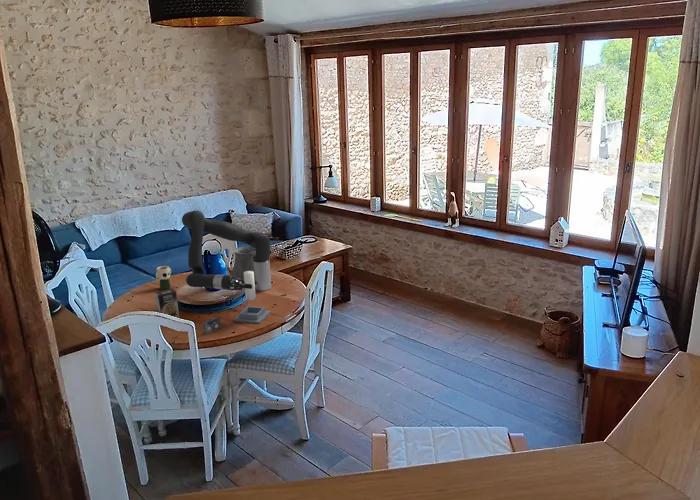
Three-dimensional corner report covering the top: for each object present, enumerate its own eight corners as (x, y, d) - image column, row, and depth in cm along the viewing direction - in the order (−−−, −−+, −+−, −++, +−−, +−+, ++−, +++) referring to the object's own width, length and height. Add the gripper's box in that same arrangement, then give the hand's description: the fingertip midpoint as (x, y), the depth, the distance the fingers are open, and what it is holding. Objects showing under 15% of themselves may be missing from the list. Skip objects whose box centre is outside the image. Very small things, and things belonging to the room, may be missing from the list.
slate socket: (246, 310, 289) (245, 304, 288) (270, 312, 285) (270, 306, 284) (234, 321, 276) (233, 314, 275) (259, 323, 273) (259, 317, 272)
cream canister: (248, 296, 281) (246, 270, 277) (257, 297, 280) (255, 271, 276) (244, 299, 276) (241, 273, 272) (253, 300, 275) (251, 274, 271)
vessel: (273, 275, 343) (271, 244, 337) (257, 287, 322) (254, 255, 317) (242, 272, 349) (239, 242, 343) (224, 284, 329) (221, 252, 323)
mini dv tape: (219, 328, 269) (218, 316, 267) (220, 329, 268) (219, 317, 266) (204, 333, 263) (202, 321, 262) (205, 334, 262) (204, 322, 261)
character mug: (162, 292, 319) (159, 271, 315) (154, 290, 322) (151, 269, 319) (176, 286, 328) (174, 265, 324) (168, 284, 331) (166, 264, 328)
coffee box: (162, 325, 273) (158, 295, 269) (158, 321, 278) (154, 291, 274) (180, 320, 279) (176, 291, 274) (175, 316, 284) (172, 287, 279)
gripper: (216, 280, 272) (247, 282, 267) (230, 270, 285) (260, 273, 281) (217, 294, 274) (248, 296, 270) (231, 284, 287) (261, 286, 283)
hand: (254, 284), depth 275 cm, fingers closed on cream canister, 5 cm apart
